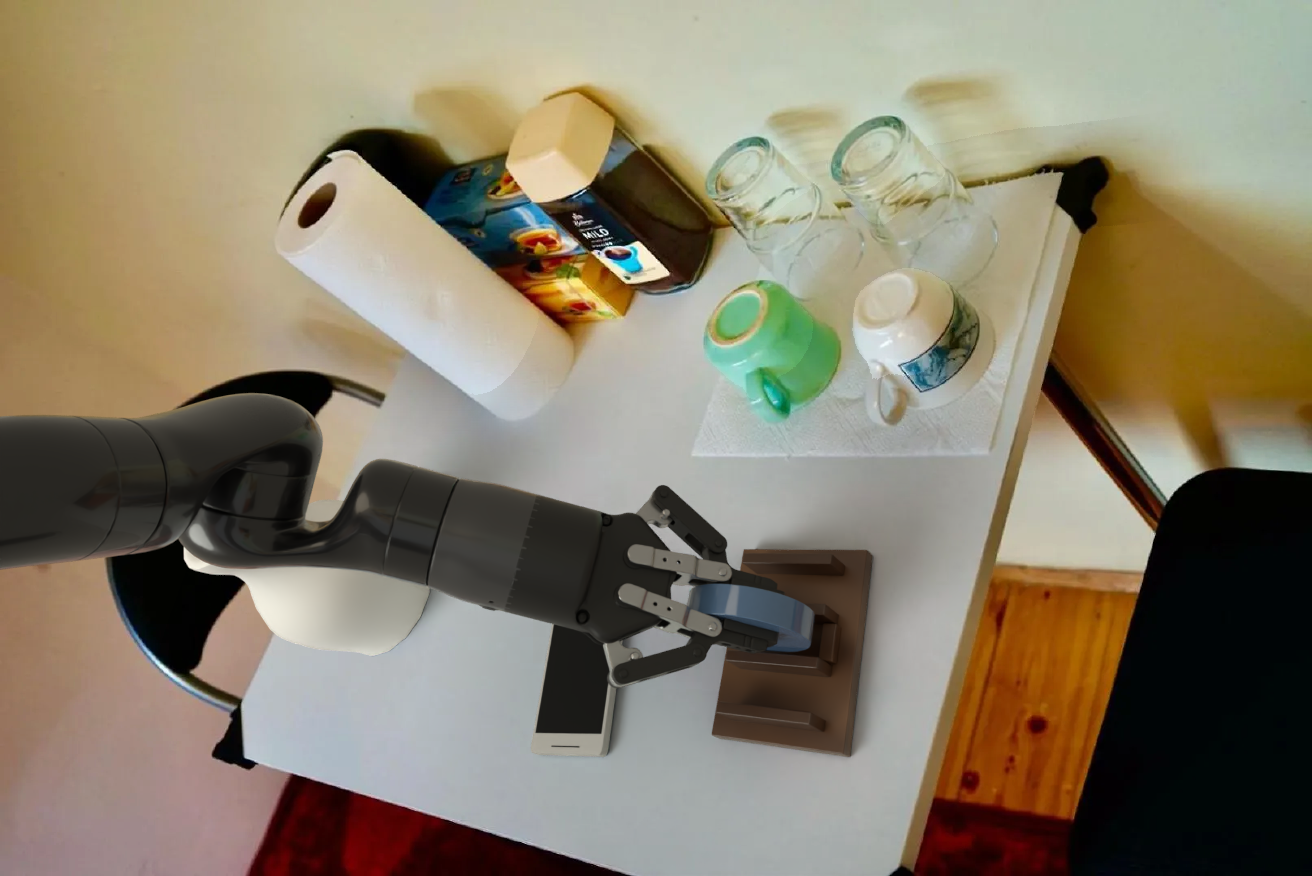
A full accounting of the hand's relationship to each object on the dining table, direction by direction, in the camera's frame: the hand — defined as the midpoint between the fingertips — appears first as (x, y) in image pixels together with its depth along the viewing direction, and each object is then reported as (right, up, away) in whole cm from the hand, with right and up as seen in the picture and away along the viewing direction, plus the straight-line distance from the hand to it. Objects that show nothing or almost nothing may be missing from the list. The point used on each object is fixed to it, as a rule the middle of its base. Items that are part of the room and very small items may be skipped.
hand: (776, 619), depth 58 cm
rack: (+2, -3, +7) cm, 8 cm away
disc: (-2, 0, +1) cm, 2 cm away
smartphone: (-13, -7, +16) cm, 22 cm away
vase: (-35, -5, +34) cm, 49 cm away
